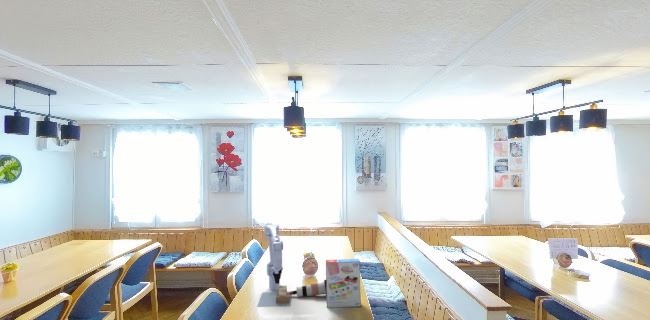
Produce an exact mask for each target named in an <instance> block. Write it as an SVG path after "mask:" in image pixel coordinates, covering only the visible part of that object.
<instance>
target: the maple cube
mask: <svg viewBox="0 0 650 320" xmlns="http://www.w3.org/2000/svg"><path fill="white" fill-rule="evenodd" d="M287 288H288V286H287V285H281V286H279V290H278V292H279V296H286V294H287V292H288V290H287Z"/></svg>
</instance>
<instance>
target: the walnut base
mask: <svg viewBox="0 0 650 320" xmlns="http://www.w3.org/2000/svg"><path fill="white" fill-rule="evenodd" d="M276 292H277V295H276V304H277V303H289V301H290V291H287V294H286V296H279V291H276Z"/></svg>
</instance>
